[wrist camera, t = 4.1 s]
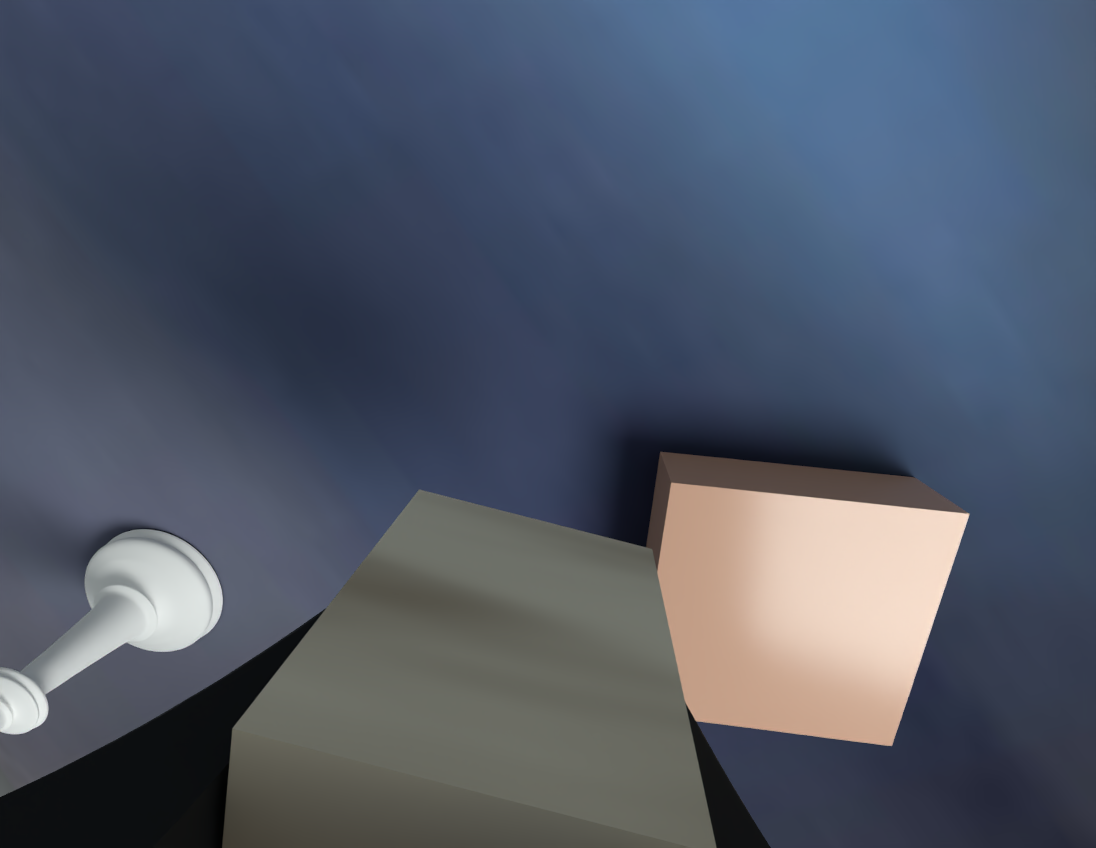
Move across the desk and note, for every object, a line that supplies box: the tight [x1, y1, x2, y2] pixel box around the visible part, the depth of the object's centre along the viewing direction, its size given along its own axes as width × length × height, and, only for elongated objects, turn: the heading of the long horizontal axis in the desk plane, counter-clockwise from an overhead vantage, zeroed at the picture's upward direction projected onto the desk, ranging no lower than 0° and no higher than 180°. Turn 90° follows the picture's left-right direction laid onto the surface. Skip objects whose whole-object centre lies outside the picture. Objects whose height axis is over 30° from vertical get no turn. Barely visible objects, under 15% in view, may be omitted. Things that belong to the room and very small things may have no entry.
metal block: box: [222, 490, 716, 848], centre depth 8 cm, size 4×4×6 cm
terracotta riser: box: [646, 452, 969, 746], centre depth 17 cm, size 8×8×3 cm
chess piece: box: [0, 529, 223, 734], centre depth 16 cm, size 5×5×10 cm
